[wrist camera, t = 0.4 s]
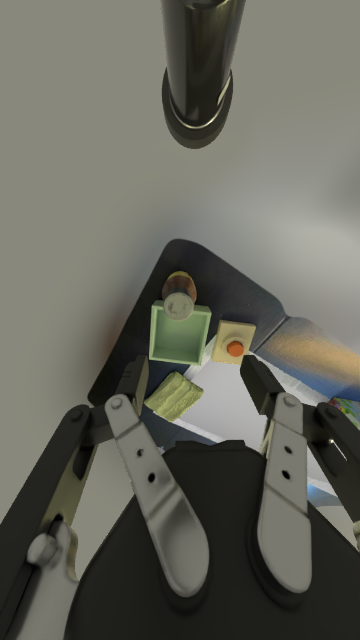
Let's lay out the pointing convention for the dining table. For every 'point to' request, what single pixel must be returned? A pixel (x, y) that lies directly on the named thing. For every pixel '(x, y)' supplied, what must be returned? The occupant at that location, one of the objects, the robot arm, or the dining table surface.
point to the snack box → (348, 409)
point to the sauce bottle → (179, 296)
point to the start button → (235, 349)
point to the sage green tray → (178, 335)
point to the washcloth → (174, 396)
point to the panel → (232, 340)
